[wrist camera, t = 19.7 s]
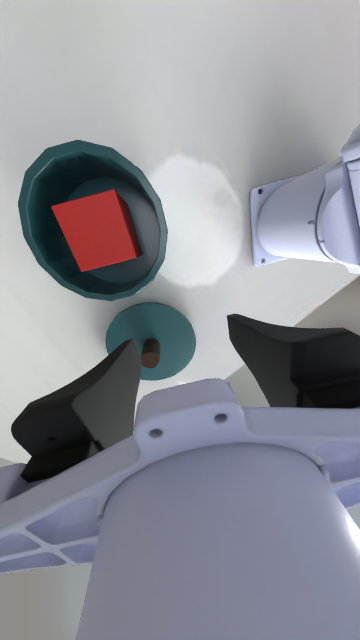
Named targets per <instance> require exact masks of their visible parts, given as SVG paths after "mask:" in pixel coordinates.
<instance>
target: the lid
mask: <svg viewBox="0 0 360 640" xmlns="http://www.w3.org/2000/svg"><path fill="white" fill-rule="evenodd" d="M129 339H134V342H135V344H136V347H137V349H138V352H139V354H140V357H141V359H142V369H141V376H140V379H142V380H161V379H166V378H169V377H171V376H174V375H176V374H177V373H179V372H180V371H182V370H183V369H184V368H185V367H186V366H187V365H188V364H189V362H190V361H191V359H192V357H193V355H194V352H195V347H196V338H195V334H194V330H193V328H192V326H191V324H190V322H189V321H188V320H187V319H186V317H185V316H184V315H182V314H181V313H180V312H179V311H177V310H175V309H174V308H171V307H169V306H166V305H163V304H158V303H142V304H137V305H134V306H131V307H129V308H127V309H125V310H124V311H122V312H121V313H120V314H119V315H117V316H116V318H115V319H114V320H113V321H112V323H111V325H110V326H109V329H108V331H107V335H106V348H107V352H108V354H111V353H112V352H113V351H114V350H115V349H116V348H117V347H118V346H119V345H120V344H121V343H122V342H124V341H125V340H129Z"/></svg>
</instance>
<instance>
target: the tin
mask: <svg viewBox="0 0 360 640" xmlns="http://www.w3.org/2000/svg"><path fill="white" fill-rule="evenodd" d="M113 189H114V190H115V191H116V192H117V193H118V194H119V195H120V196H121V197H122V198H123V199H124V200H125V201H126V202H127V204H128V207H129V210H130V213H131V217H132V220H133V223H134V226H135V230H136V233H137V236H138V239H139V243H140V246H141V249H142V253H143V254H142V255H141V256H139V257H137V258H134V259H130V260H126V261H122V262H118V263H114V264H111V265H107V266H103V267H99V268H95V269H91V270H88V271H84V272H81V270H80V268H79V266H78V263H77V261H76V259H75V257H74V255H73V253H72V251H71V248H70V246H69V244H68V242H67V240H66V238H65V236H64V233H63V231H62V229H61V227H60V225H59V223H58V221H57V218H56V216H55V214H54V212H53V210H52V208H51V206H54V205H57V204H61V203H65V202H68V201H72V200H76V199H79V198H83V197H87V196H90V195H94V194H98V193H101V192H105V191H109V190H113ZM18 207H19V213H20V219H21V224H22V230H23V235H24V238H25V240H26V242H27V244H28V245H29V247H30V249H31V251H32V253H33V254H34V256H35V258H36V260H37V262H38V263H39V265H40V266H41V267H42V268H43V269H44V270H45V271H47V272H48V273H49V274H50V275H51V276H52V277H53V278H54V279H55V280H56V281H57V282H58V283H59V284H60V285H62V286H63V287H65V288H67V289H69V290H71V291H73V292H75V293H77V294H79V295H82V296H84V297H86V298H91V299H99V300H107V301H113V300H117V299H121V298H125V297H129V296H133V295H135V294H136V293H138V292H139V291H140V290H142V289H143V288H144V287H145V286H147V285H148V284H149V283H151V282H152V281H153V279H154V277H155V276H156V274H157V272H158V270H159V268H160V266H161V265H162V263H163V261H164V259H165V251H166V242H167V234H168V230H167V226H166V221H165V217H164V213H163V209H162V205H161V201H160V198H159V197H158V195H157V194H156V192H155V191H154V189H153V188H152V186H151V184H150V183H149V181H148V180H147V178H146V177H145V175H144V173H143V172H142V171H141V170H140V169H139V168H138V167H137V166H135V165H134V164H133V163H131V162H130V161H129V160H127V159H126V158H125V157H123V156H122V155H121V154H120V153H118V152H117V151H116V150H114V149H112V148H110V147H106V146H102V145H98V144H94V143H90V142H85V141H81V140H75V141H71V142H68V143H64V144H61V145H57V146H53V147H50V148H47V149H45V151H44V152H43V153H42V154H41V155H40V156H39V157H38V158H37V159H36V161H35V162H34V163H33V164H32V165H31V166H30V167H29V168H28V169H27V170H26V172H25V175H24V179H23V184H22V188H21V192H20V196H19V201H18Z"/></svg>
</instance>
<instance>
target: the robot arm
mask: <svg viewBox="0 0 360 640" xmlns="http://www.w3.org/2000/svg"><path fill="white" fill-rule="evenodd" d="M341 155H342V156H341V157H339V158H337V159H335V160H333V161H331V162H328V163H326V164H324V165H322V166H320V167H318V168H316V169H314V170H312V171H310V172H308V173H306V174H302V175H298V176H295V177H291V178H287V179H283V180H280V181H276V182H272V183H268V184H265V185H261V186H257V187H254V188H253V189H252V190H251V191H250V211H251V229H252V247H253V263H254V265H256V266H260V265H264V264H268V263H272V262H276V261H280V260H284V259H288V258H301V259H309V260H318V261H327V262H336V263H342V264H344V265H345V266H346V268H347V270H348V272H350V273H356V274H360V124H359V125H358V126H357V127H356V128H355V129H354V131H353V132H352V134H351V136H350V137H349V139H348V142H347V143H346V144H345V145H344V146H343V147H342V149H341ZM259 189H260V190H261V194H258V190H259ZM261 259H263V262H262V263H261ZM227 320H228V328H229V336H230V340H231V342H232V344H233V346H234V348H235V350H236V351H237V353H238V354H239V355H240V357H241V358H242V360H243V361H244V362H245V364H246V365H247V366H248V368H249V369H250V371H251V372H252V374H253V375H254V377H255V379H256V381H257V382H258V384H259V386H260V388H261V389H262V391H263V393H264V395H265V397H266V399H267V401H268V403H269V405H270V407H241V406H240V404H239V402H238V400H237V398H236V396H235V393H234V391H233V390H232V388H231V386H230V384H229V383H228V382H226V381H224V380H221V379H219V378H218V379H204V380H200V381H195V382H191V383H187V384H183V385H179V386H174V387H170V388H166V389H162V390H158V391H154V392H152V393H150V394H147V395H145V396H143V398H142V399H141V401H140V402H139V403H138V406H137V412H136V418H135V424H134V412H135V402H136V396H137V391H138V386H139V381H140V376H141V369H142V359H141V357H140V354H139V352H138V349H137V347H136V344H135V342H134V339H129V340H125V341H124V342H122V343H121V344H120V345H119V346H118V347H117V348H116V349H115V350H114V351H113V352H112V353H111V354H109V355H108V356H107V357H106V358H105V359H104V360H103V361H101V362H100V363H99V364H98V365H97V366H95V367H94V368H93V369H91V370H90V371H88V372H87V373H86V374H84V375H83V376H81V377H79V378H78V379H76V380H75V381H73V382H71V383H70V384H68V385H66V386H64V387H62V388H60V389H58V390H57V391H55V392H53V393H51V394H48V395H46V396H44V397H42V398H40V399H37V400H35V401H33V402H31V403H29V404H28V405H27V407H26V408H25V409H24V410H23V411H22V412H21V414H20V415H19V416H18V417H17V418H16V420H15V421H14V422H13V424H12V426H11V432H12V435H13V437H14V439H15V440H16V441H17V442H18V443H19V444H20V445H21V446H22V447H23V448H24V449H25V450H26V451H27V452H28V453H29V454H30V455H31V456H32V457H31V459H30V460H29V462H28V464H24V463H17V464H14V465H9V466H5V467H0V575H1V574H6V573H12V572H19V571H26V570H34V569H42V568H52V567H63V566H75V565H86V564H92V569H91V574H90V578H89V583H88V587H87V592H86V596H85V600H84V605H83V609H82V614H81V618H80V623H79V628H78V631H77V636H76V640H360V529H359V528H358V527H357V525H356V524H355V522H354V521H353V520H352V518H351V516H350V515H349V513H348V512H347V509H350V508H353V507H356V506H359V505H360V336H359V335H357V334H355V333H353V332H351V331H349V330H347V329H345V328H325V329H323V328H322V329H317V328H295V327H286V326H279V325H274V324H269V323H265V322H261V321H258V320H254V319H251V318H248V317H245V316H242V315H239V314H231V315H227ZM133 427H134V430H133ZM133 431H134V434H133Z"/></svg>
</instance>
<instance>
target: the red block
mask: <svg viewBox="0 0 360 640" xmlns="http://www.w3.org/2000/svg"><path fill="white" fill-rule="evenodd" d="M51 208H52V210H53V212H54V214H55V216H56V218H57V221H58V223H59V225H60V227H61V229H62V231H63V233H64V236H65V238H66V240H67V242H68V244H69V246H70V248H71V251H72V253H73V255H74V257H75V259H76V261H77V263H78V266H79V268H80V270H81V272H84V271H88V270H91V269H95V268H99V267H103V266H107V265H111V264H114V263H118V262H122V261H126V260H130V259H134V258H137V257H139V256H141V255H142V254H143V253H142V249H141V246H140V243H139V239H138V236H137V233H136V230H135V226H134V223H133V220H132V217H131V213H130V210H129V207H128V204H127V202H126V201H125V200H124V199H123V198H122V197H121V196H120V195H119V194H118V193H117V192H116V191H115V190H114V189H113V190H109V191H105V192H101V193H98V194H94V195H90V196H87V197H83V198H79V199H76V200H72V201H68V202H65V203H61V204H57V205H54V206H51Z"/></svg>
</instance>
